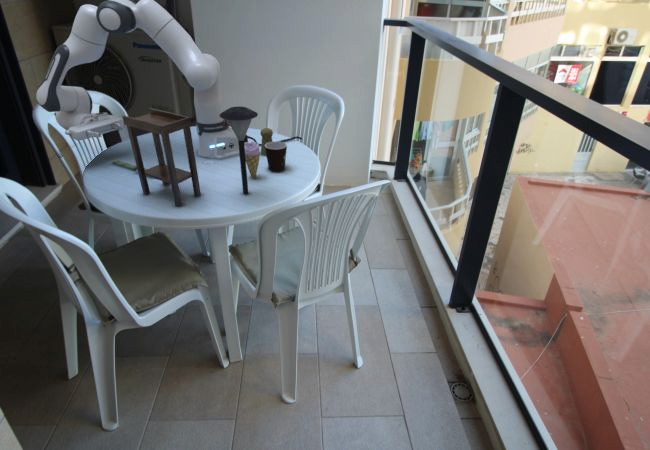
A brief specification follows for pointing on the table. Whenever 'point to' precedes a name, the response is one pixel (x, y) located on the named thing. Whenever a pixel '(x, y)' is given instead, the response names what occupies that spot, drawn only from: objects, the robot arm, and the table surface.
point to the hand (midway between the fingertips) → (110, 131)
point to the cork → (265, 139)
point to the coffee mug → (276, 155)
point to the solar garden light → (240, 133)
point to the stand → (167, 173)
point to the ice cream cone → (252, 157)
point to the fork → (127, 166)
